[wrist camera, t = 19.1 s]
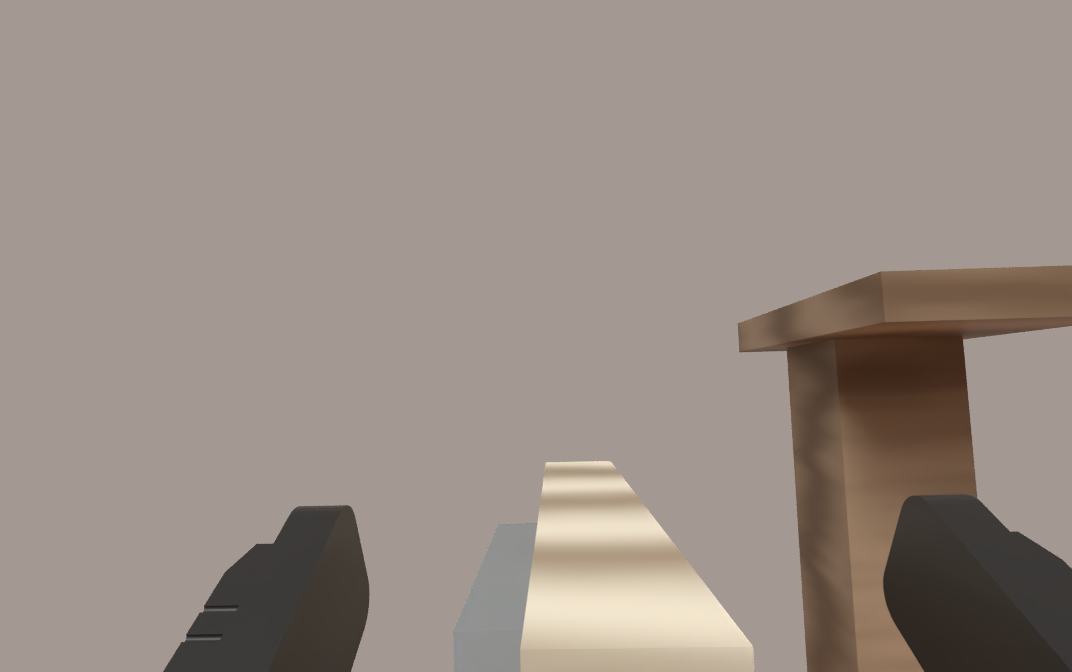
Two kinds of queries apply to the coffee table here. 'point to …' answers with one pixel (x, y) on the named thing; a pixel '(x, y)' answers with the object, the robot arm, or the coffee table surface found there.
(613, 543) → the ash leg
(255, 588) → the robot arm
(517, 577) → the low stand
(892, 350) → the tall stand
